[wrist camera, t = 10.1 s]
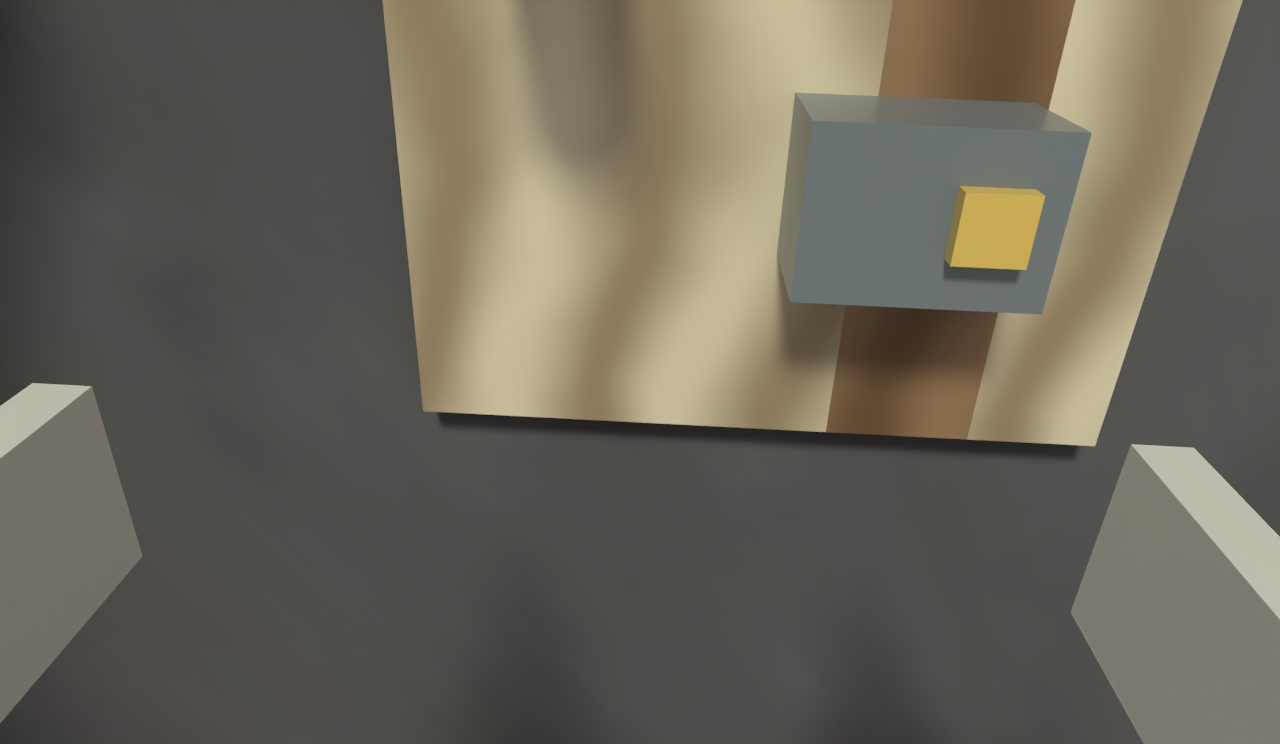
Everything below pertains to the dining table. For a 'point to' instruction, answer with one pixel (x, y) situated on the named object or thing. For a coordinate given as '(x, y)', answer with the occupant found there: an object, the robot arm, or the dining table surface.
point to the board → (763, 206)
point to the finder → (926, 202)
